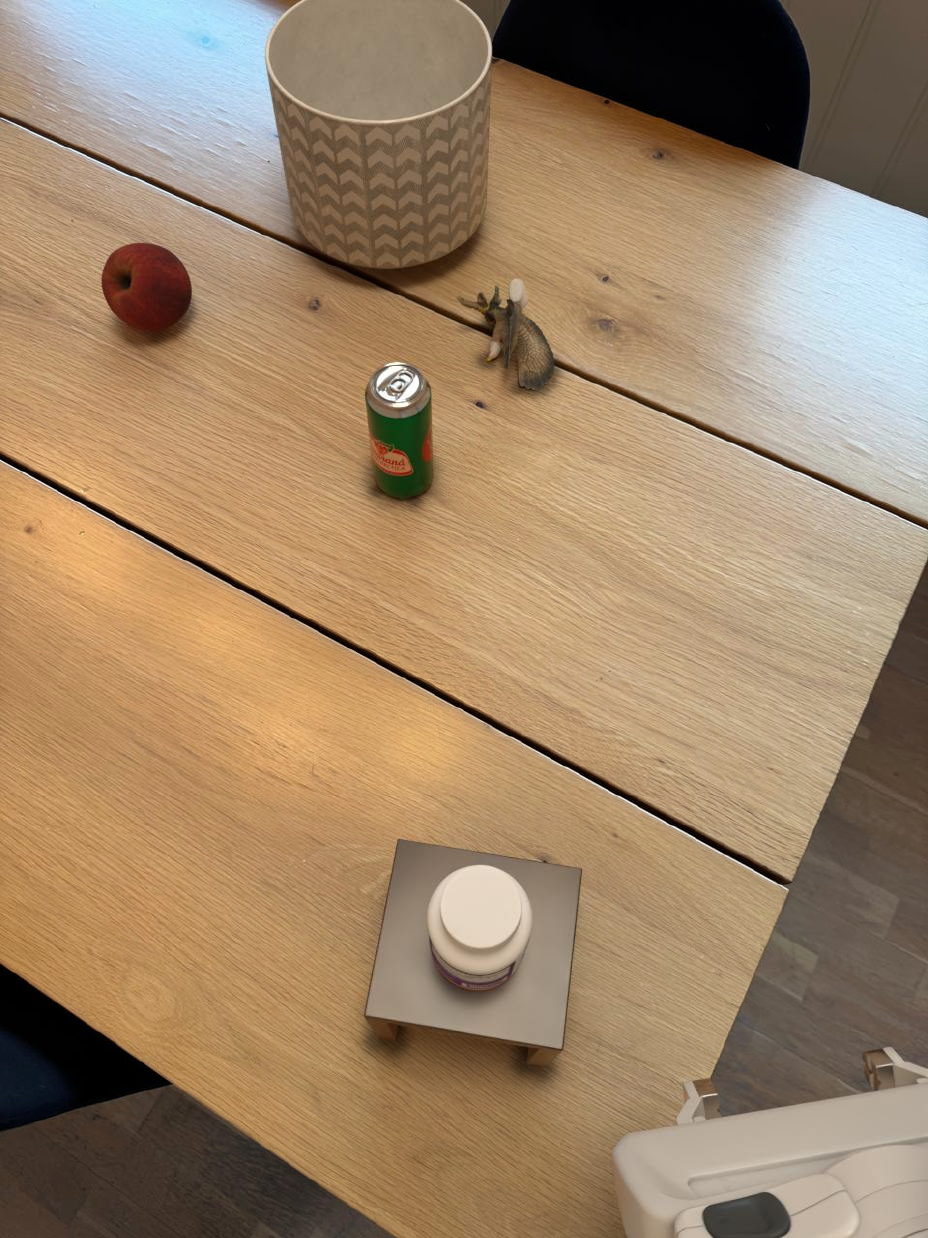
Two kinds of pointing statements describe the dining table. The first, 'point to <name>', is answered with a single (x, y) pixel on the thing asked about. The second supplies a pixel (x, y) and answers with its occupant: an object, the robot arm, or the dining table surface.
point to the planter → (383, 125)
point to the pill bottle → (479, 926)
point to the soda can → (400, 429)
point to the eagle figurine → (516, 335)
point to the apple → (146, 286)
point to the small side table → (430, 1001)
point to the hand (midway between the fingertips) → (787, 1077)
